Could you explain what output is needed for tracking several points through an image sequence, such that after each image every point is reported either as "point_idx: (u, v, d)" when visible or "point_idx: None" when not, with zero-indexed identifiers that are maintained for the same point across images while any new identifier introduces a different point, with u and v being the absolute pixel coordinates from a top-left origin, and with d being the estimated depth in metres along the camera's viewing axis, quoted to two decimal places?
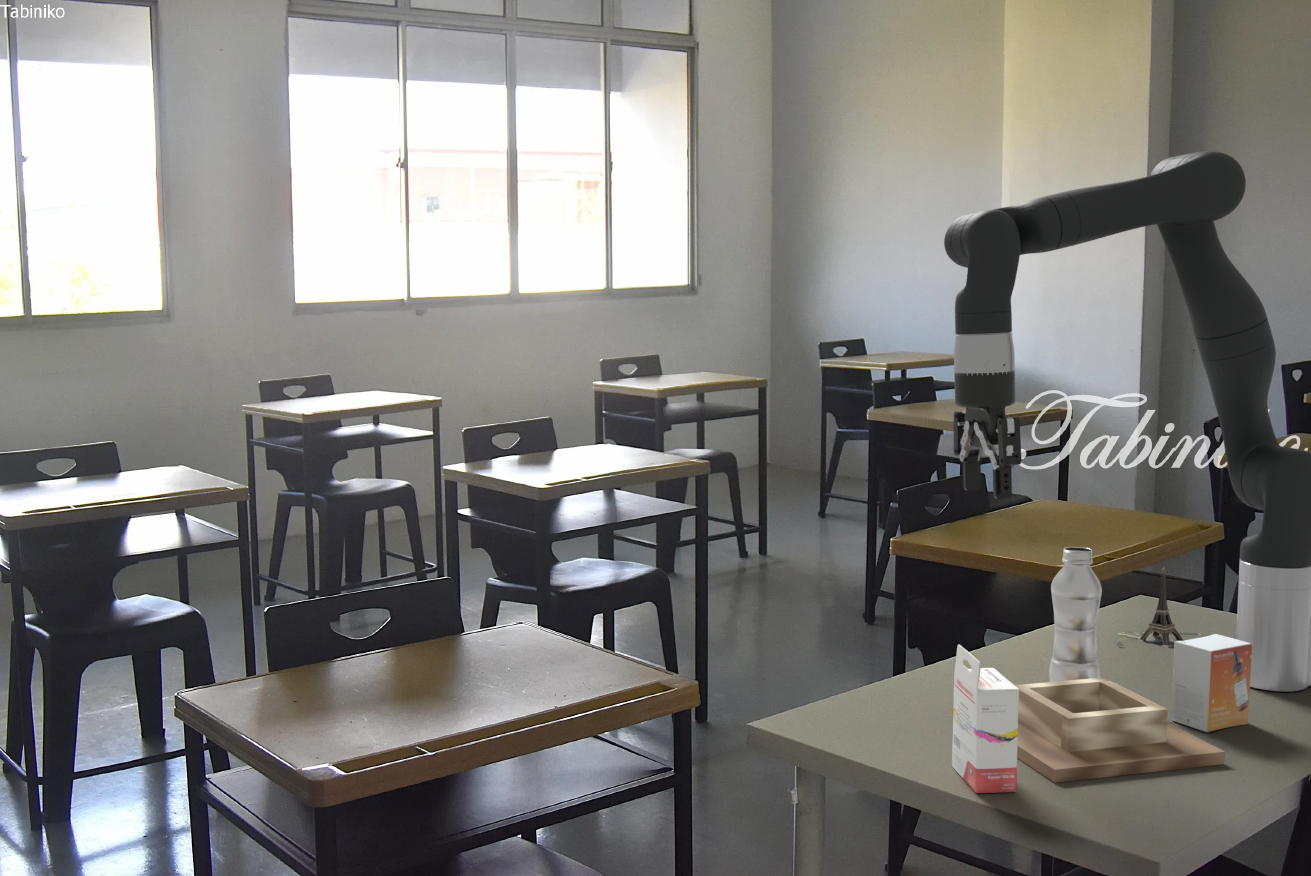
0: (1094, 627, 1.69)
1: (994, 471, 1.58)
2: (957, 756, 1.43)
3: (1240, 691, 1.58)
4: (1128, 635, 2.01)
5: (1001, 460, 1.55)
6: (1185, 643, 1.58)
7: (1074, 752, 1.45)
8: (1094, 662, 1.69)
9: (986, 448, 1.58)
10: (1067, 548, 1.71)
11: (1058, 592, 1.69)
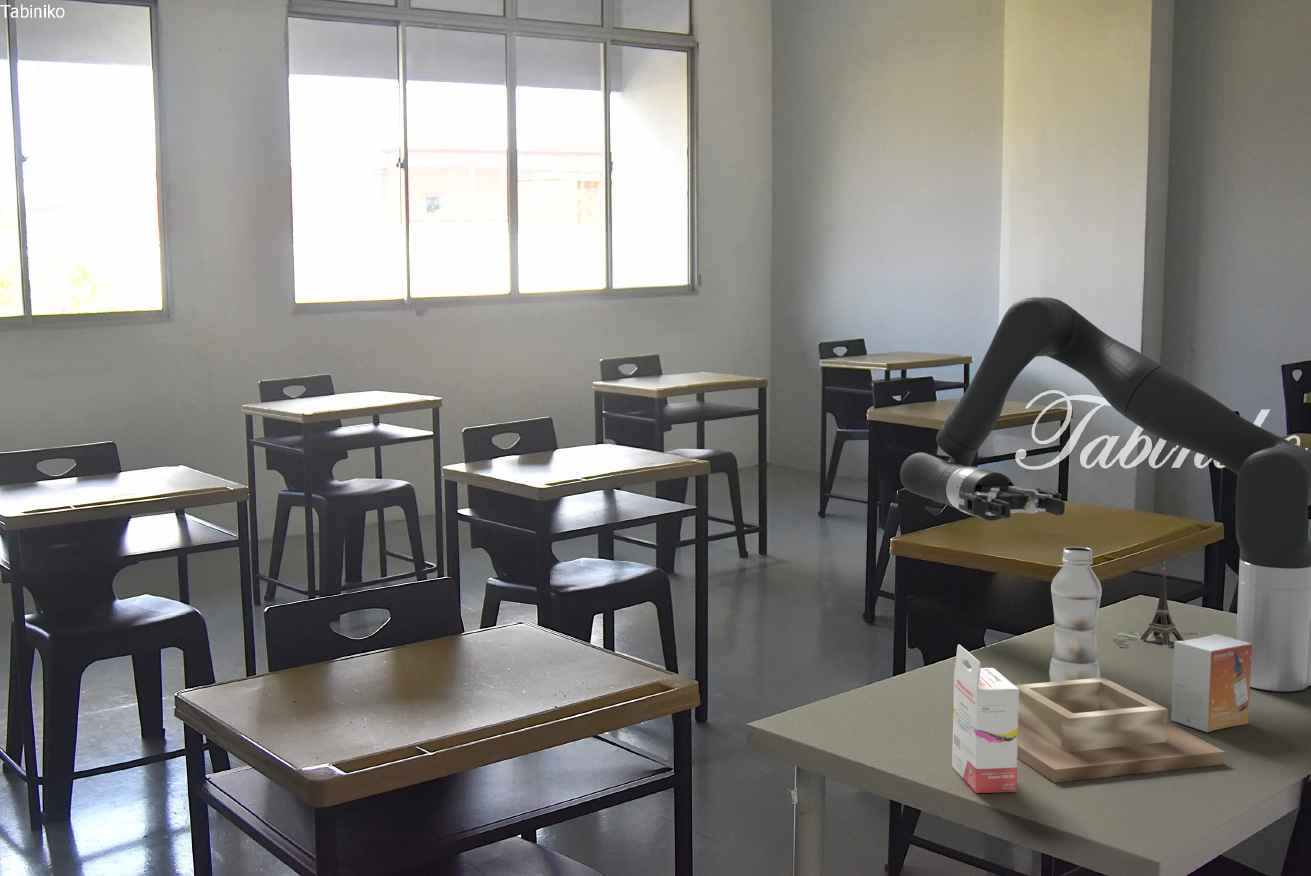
0: (1094, 627, 1.69)
1: (994, 514, 1.82)
2: (957, 756, 1.43)
3: (1240, 691, 1.58)
4: (1128, 635, 2.01)
5: None
6: (1185, 643, 1.58)
7: (1074, 752, 1.45)
8: (1094, 662, 1.69)
9: None
10: (1067, 548, 1.71)
11: (1058, 592, 1.69)
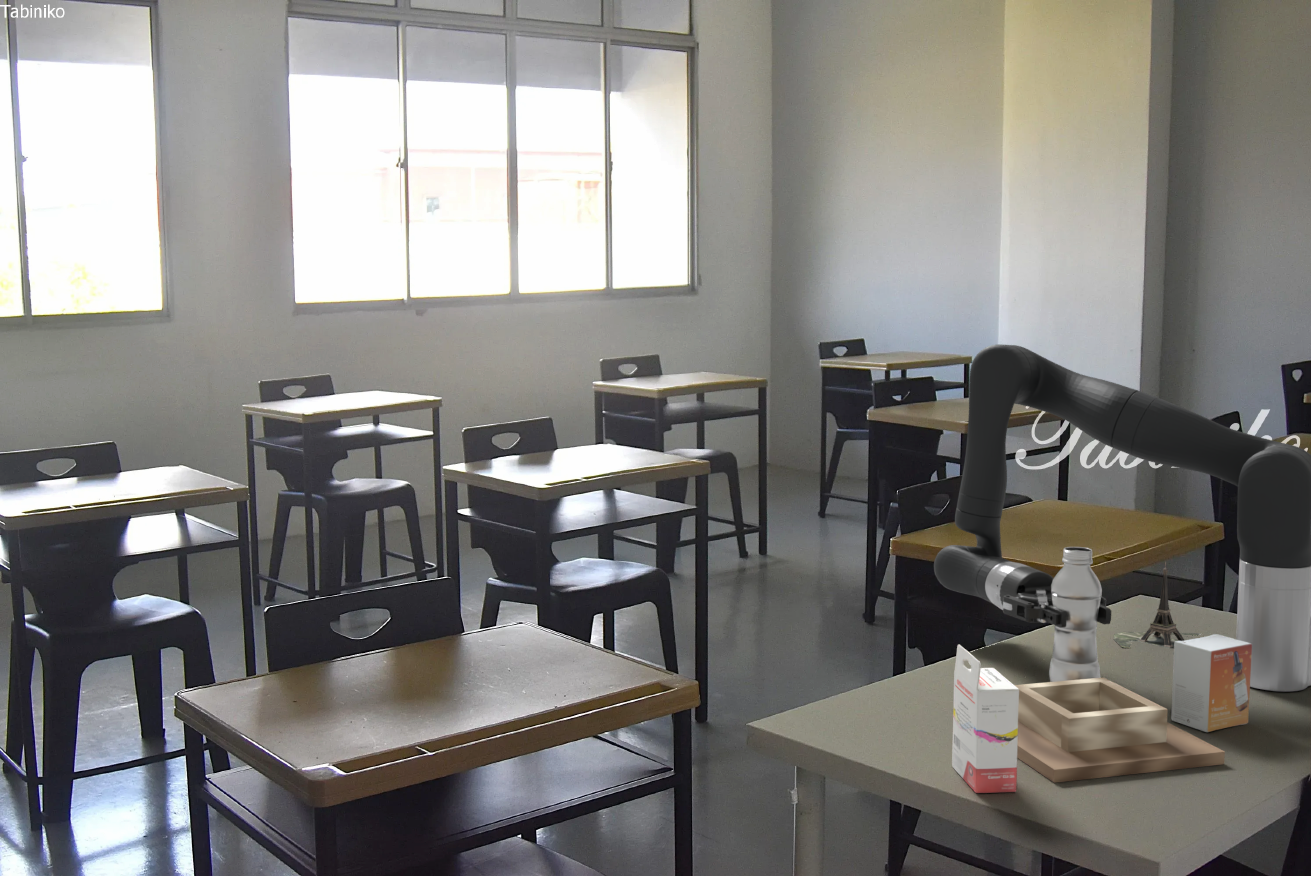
0: (1094, 627, 1.69)
1: (1049, 621, 1.71)
2: (957, 756, 1.43)
3: (1240, 690, 1.58)
4: (1129, 635, 2.01)
5: None
6: (1185, 643, 1.58)
7: (1074, 752, 1.45)
8: (1094, 662, 1.69)
9: None
10: (1067, 548, 1.71)
11: (1058, 592, 1.69)
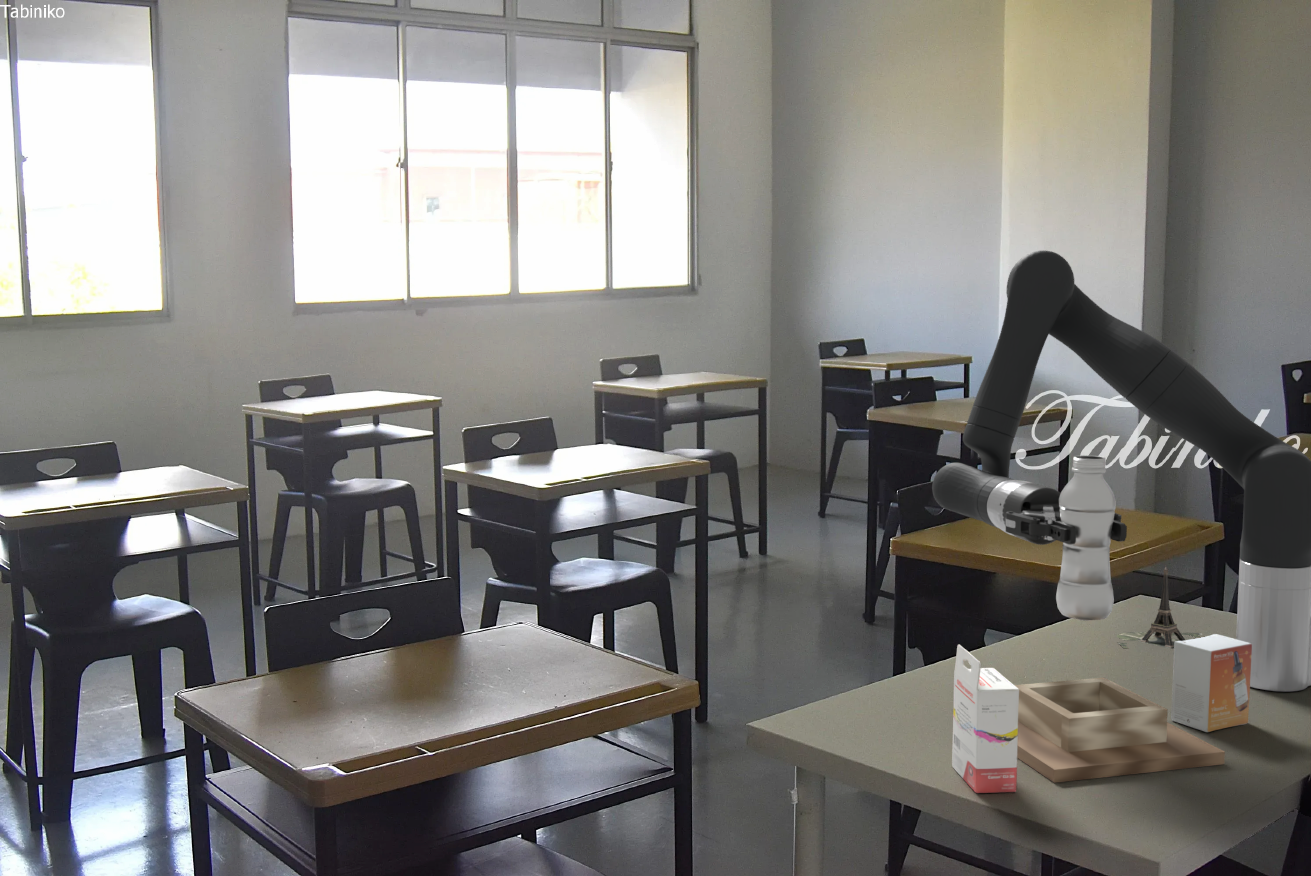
0: (1107, 544, 1.51)
1: (1056, 539, 1.53)
2: (957, 756, 1.43)
3: (1240, 690, 1.58)
4: (1130, 635, 2.00)
5: (1032, 539, 1.54)
6: (1185, 643, 1.58)
7: (1074, 752, 1.45)
8: (1107, 584, 1.51)
9: None
10: (1077, 457, 1.53)
11: (1067, 505, 1.51)
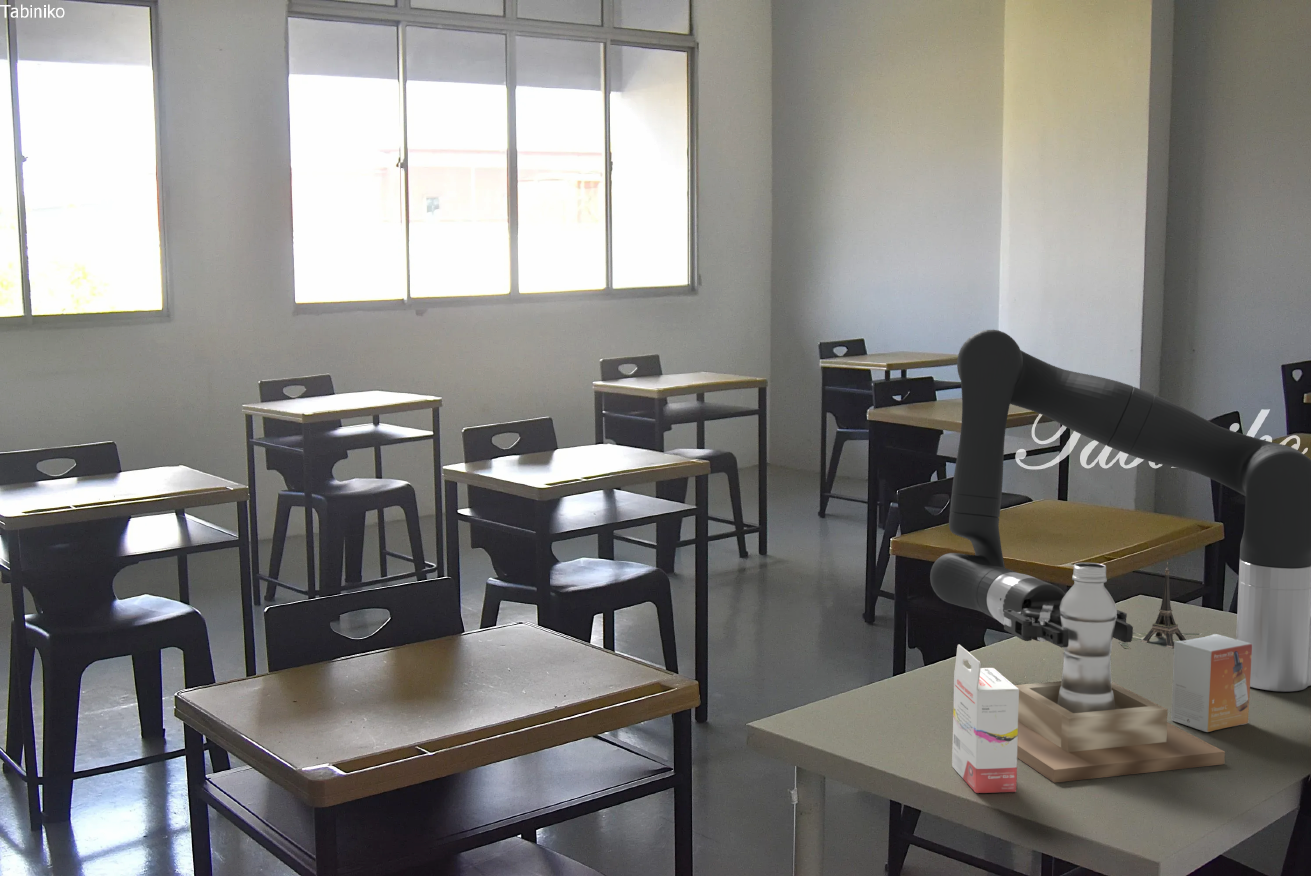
0: (1108, 653, 1.51)
1: None
2: (957, 756, 1.43)
3: (1240, 691, 1.58)
4: None
5: None
6: (1185, 643, 1.58)
7: (1074, 752, 1.45)
8: (1108, 692, 1.51)
9: None
10: (1078, 564, 1.53)
11: (1068, 613, 1.51)
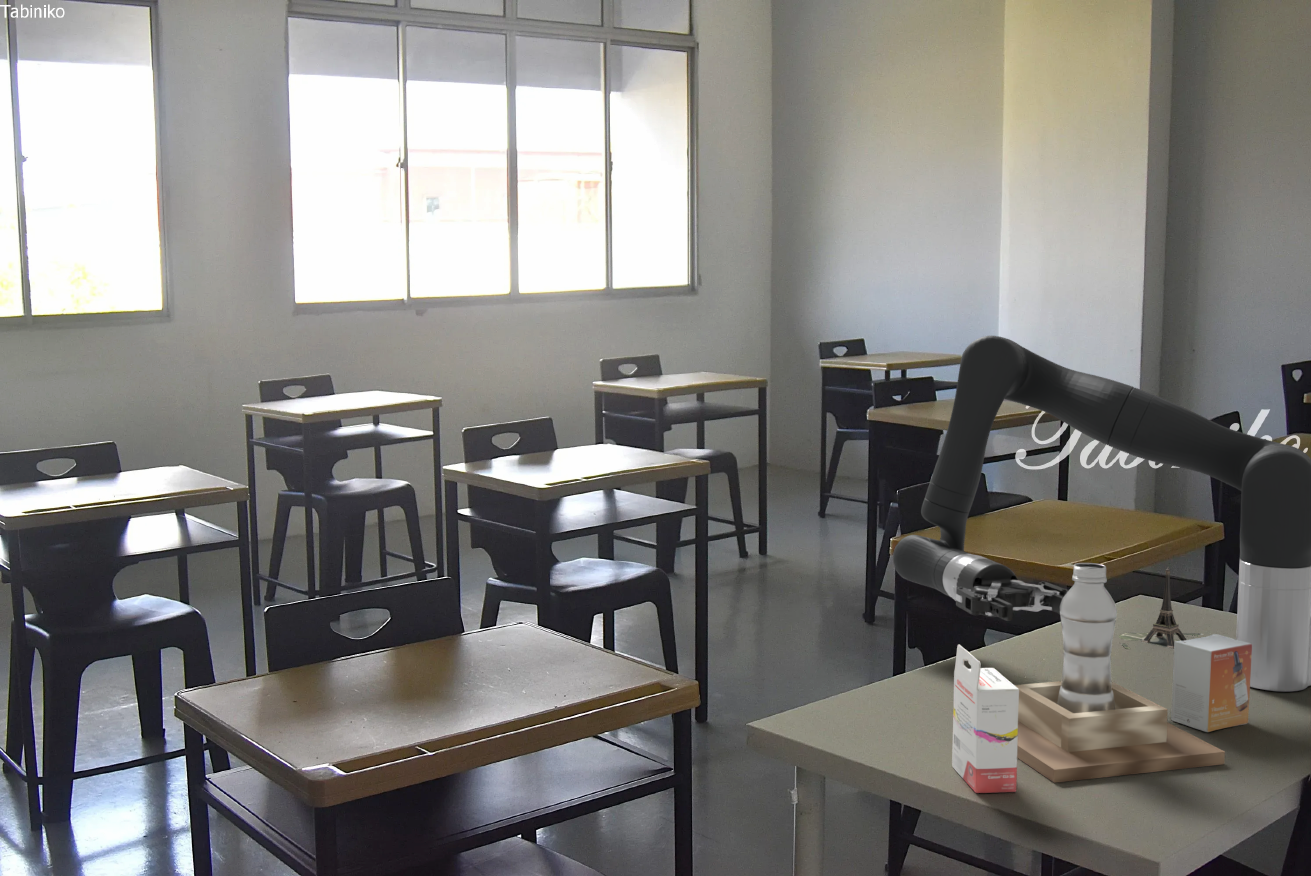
0: (1108, 653, 1.50)
1: (995, 614, 1.65)
2: (957, 756, 1.43)
3: (1240, 691, 1.58)
4: (1132, 636, 2.00)
5: None
6: (1185, 643, 1.58)
7: (1074, 752, 1.45)
8: (1108, 692, 1.51)
9: None
10: (1078, 564, 1.53)
11: (1068, 614, 1.51)
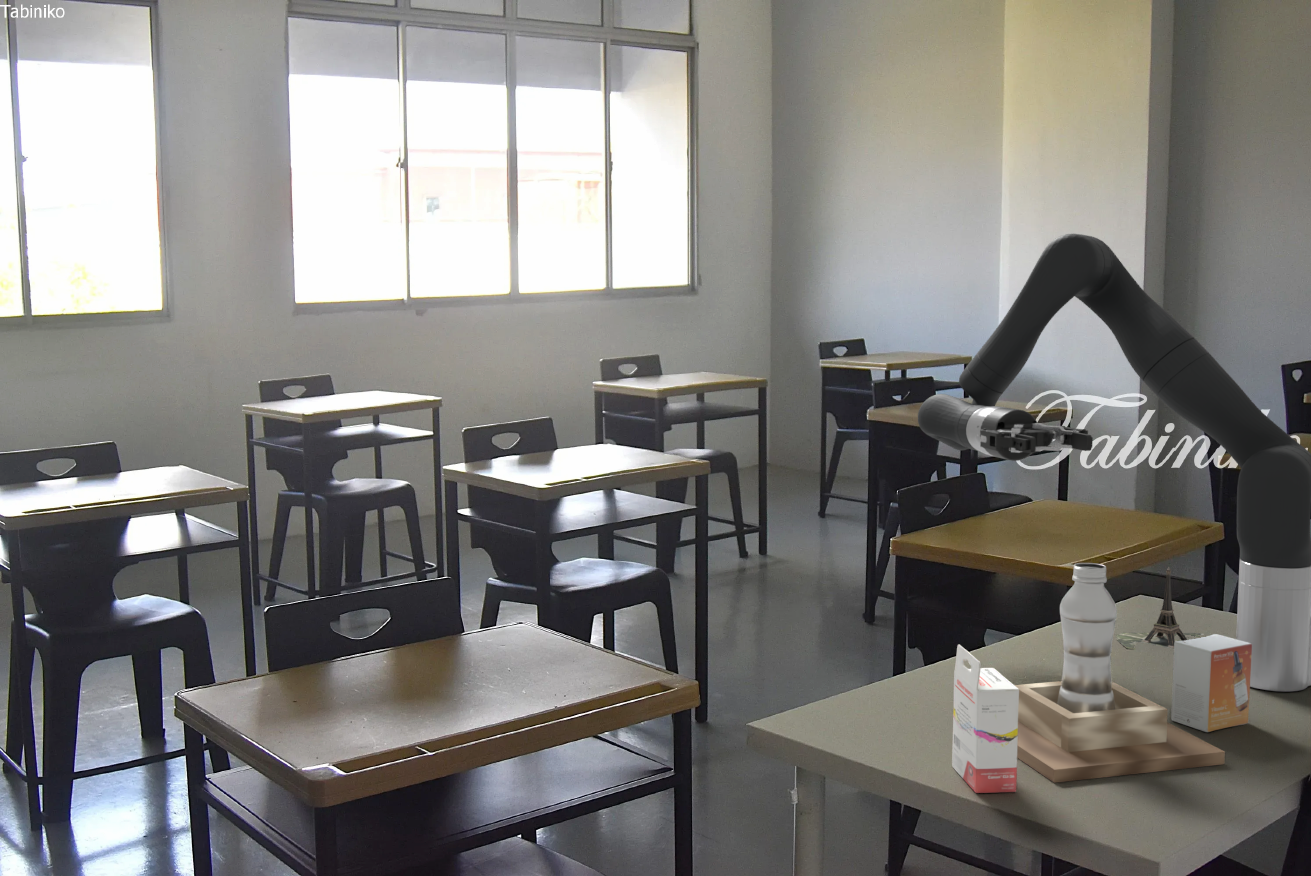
0: (1108, 653, 1.51)
1: None
2: (957, 756, 1.43)
3: (1240, 690, 1.58)
4: (1132, 636, 2.00)
5: (997, 451, 1.75)
6: (1185, 643, 1.58)
7: (1074, 752, 1.45)
8: (1108, 692, 1.51)
9: None
10: (1078, 564, 1.53)
11: (1068, 614, 1.51)
